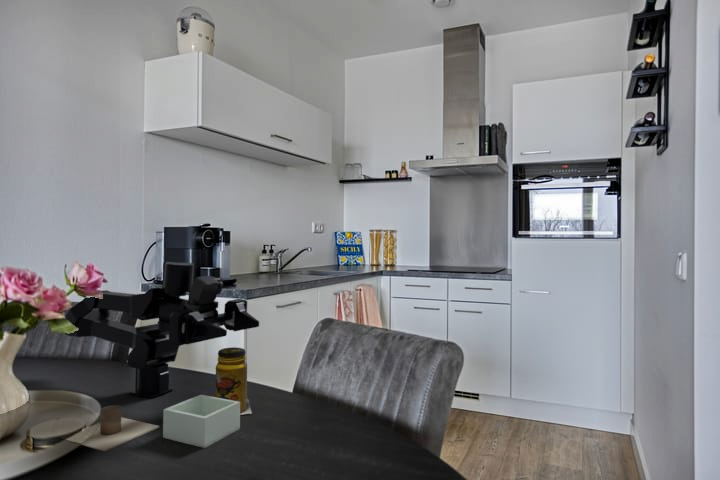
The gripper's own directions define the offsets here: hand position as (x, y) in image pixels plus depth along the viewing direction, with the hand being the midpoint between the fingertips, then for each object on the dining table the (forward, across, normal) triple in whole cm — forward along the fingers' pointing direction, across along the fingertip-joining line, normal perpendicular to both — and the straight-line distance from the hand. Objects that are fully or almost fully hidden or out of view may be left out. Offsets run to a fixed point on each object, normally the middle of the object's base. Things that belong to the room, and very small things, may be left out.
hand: (243, 328), depth 95 cm
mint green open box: (+2, -11, +16) cm, 20 cm away
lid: (-12, -19, +18) cm, 28 cm away
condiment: (-2, +1, +17) cm, 17 cm away
